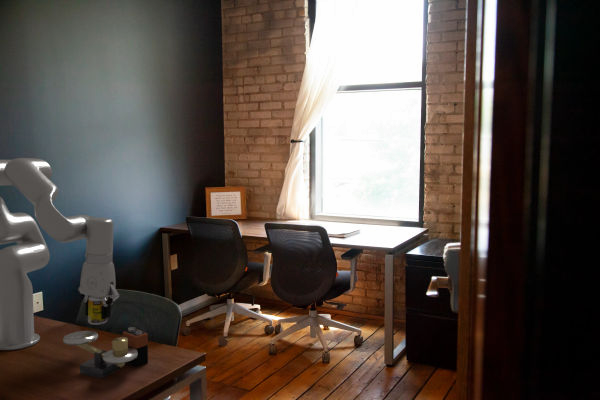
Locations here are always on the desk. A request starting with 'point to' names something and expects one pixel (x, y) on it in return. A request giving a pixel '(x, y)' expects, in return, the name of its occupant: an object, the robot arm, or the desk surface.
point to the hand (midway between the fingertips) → (97, 315)
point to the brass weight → (120, 346)
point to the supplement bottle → (95, 311)
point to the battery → (137, 346)
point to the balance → (98, 355)
